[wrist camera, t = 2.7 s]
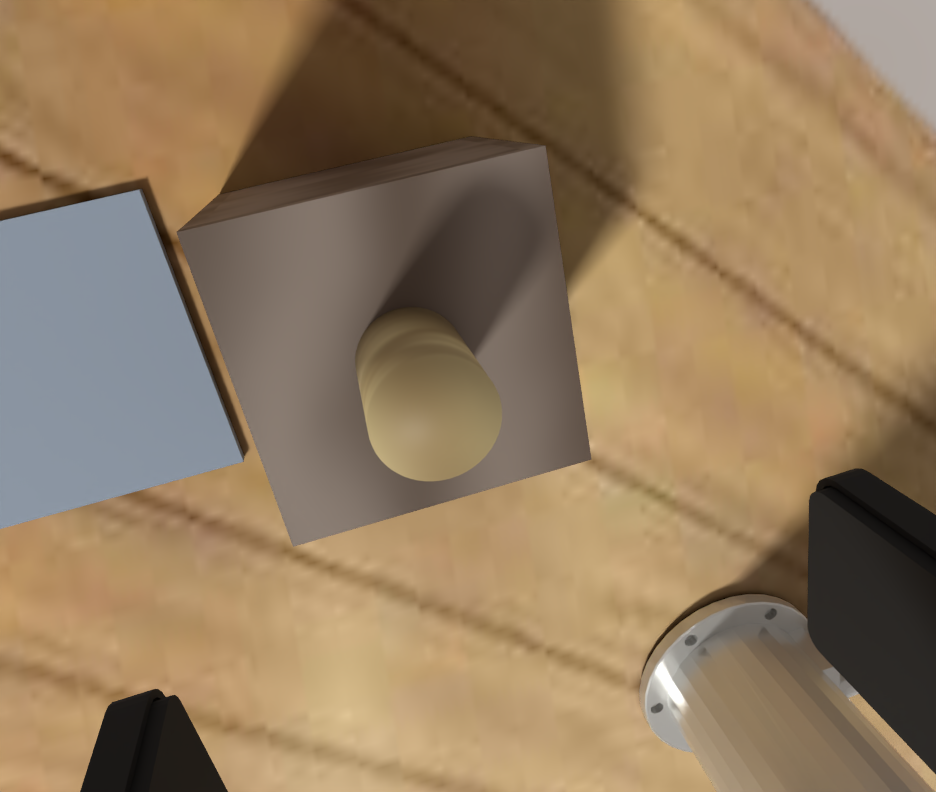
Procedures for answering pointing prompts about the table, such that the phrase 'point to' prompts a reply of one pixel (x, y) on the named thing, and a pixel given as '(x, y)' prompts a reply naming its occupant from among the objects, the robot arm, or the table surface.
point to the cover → (395, 329)
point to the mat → (98, 363)
